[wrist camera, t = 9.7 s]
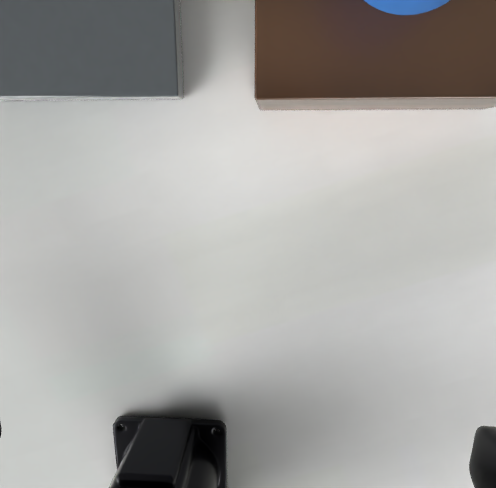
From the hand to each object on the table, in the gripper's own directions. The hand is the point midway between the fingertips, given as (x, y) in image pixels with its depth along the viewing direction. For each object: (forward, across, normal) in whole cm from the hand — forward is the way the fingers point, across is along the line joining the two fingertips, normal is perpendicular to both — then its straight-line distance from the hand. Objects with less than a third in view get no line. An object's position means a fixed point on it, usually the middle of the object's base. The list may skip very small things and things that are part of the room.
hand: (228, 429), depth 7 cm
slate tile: (+13, +8, -12) cm, 19 cm away
